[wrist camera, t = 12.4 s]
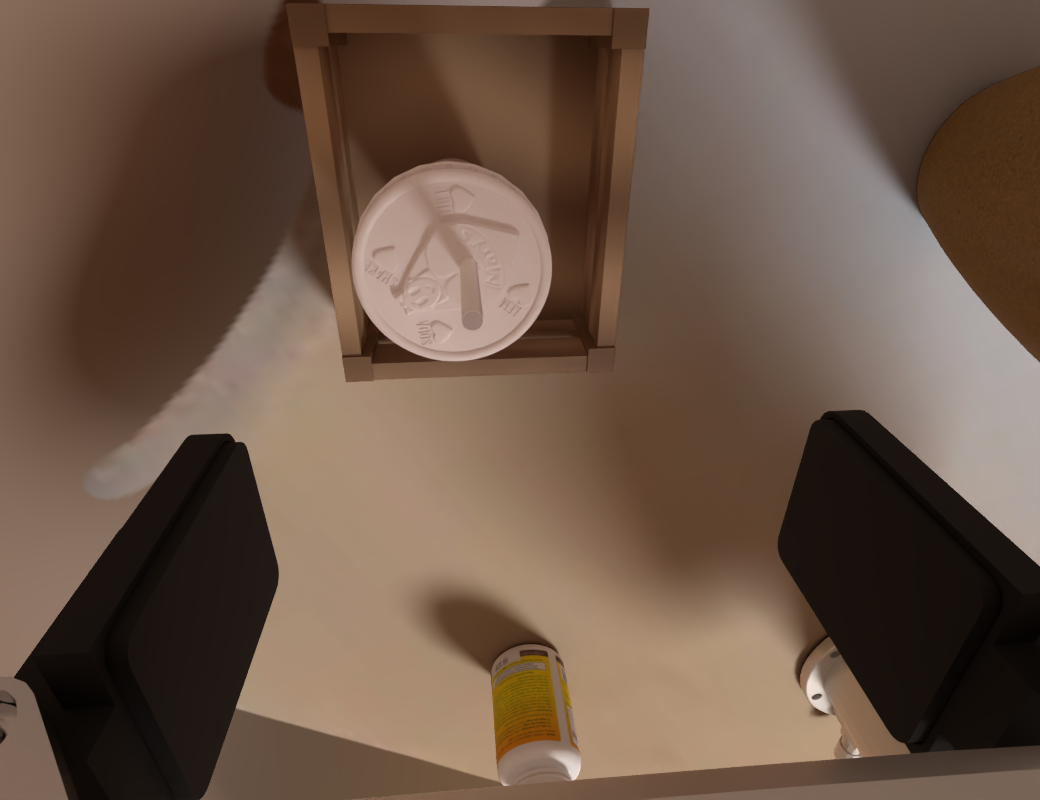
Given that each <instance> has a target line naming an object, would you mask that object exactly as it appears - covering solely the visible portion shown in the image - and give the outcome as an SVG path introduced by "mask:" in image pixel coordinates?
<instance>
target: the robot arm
mask: <svg viewBox="0 0 1040 800" xmlns="http://www.w3.org/2000/svg"><path fill="white" fill-rule="evenodd" d="M778 552H779V555H780V558H781V560H782V562H783V563H784V565H785V567H786V568H787V570H788V571H789V573H790V575H791V576H792V578H793V579H794V581H795V583H796V584H797V586H798V587H799V589H800V591H801V592H802V594H803V595H804V597H805V599H806V600H807V602H808V603H809V605H810V607H811V608H812V610H813V611H814V613H815V615H816V616H817V618H818V619H819V621H820V623H821V624H822V626H823V627H824V629H825V631H826V632H827V634H828V635H829V637H828V638H826V639H825V640H824V641H823V642H821V643H820V644H819V645H818V646H817V647H816V648H815V649H814V650H813V652H812V653H811V654H810V655H809V656H808V658H807V660H806V662H805V663H804V665H803V667H802V671H801V674H800V685H801V688H802V690H803V692H804V694H805V696H806V698H807V699H808V701H809V702H810V704H811V705H813V706H814V707H815V708H816V709H818V710H820V711H823V712H825V713H828V714H832V715H836V717H837V719H838V720H839V722H840V724H841V734H842V736H841V738H840V739H839V741H838V743H837V745H836V747H835V749H834V755H835V757H836V759H834V760H820V761H807V762H794V763H781V764H768V765H755V766H743V767H730V768H718V769H706V770H693V771H681V772H669V773H656V774H644V775H632V776H620V777H607V778H595V779H583V780H571V781H559V782H547V783H535V784H523V785H511V786H500V787H488V788H477V789H465V790H454V791H442V792H431V793H419V794H408V795H396V796H385V797H374V798H362V799H351V800H1040V566H1039V565H1037V564H1036V563H1035V562H1034V561H1033V560H1032V559H1031V558H1030V557H1029V556H1027V555H1026V554H1025V553H1024V552H1023V551H1022V550H1021V549H1020V548H1019V547H1017V546H1016V545H1015V544H1014V543H1013V542H1012V541H1011V540H1010V539H1008V538H1007V537H1006V536H1005V535H1004V534H1003V533H1002V532H1001V531H1000V530H998V529H997V528H996V527H995V526H994V525H993V524H992V523H991V522H989V521H988V520H987V519H986V518H985V517H984V516H983V515H982V514H981V513H979V512H978V511H977V510H976V509H975V508H974V507H973V506H972V505H970V504H969V503H968V502H967V501H966V500H965V499H964V498H963V497H962V496H960V495H959V494H958V493H957V492H956V491H955V490H954V489H953V488H951V487H950V486H949V485H948V484H947V483H946V482H945V481H944V480H943V479H941V478H940V477H939V476H938V475H937V474H936V473H935V472H934V471H933V470H931V469H930V468H929V467H928V466H927V465H926V464H925V463H924V462H922V461H921V460H920V459H919V458H918V457H917V456H916V455H915V454H914V453H912V452H911V451H910V450H909V449H908V448H907V447H906V446H905V445H903V444H902V443H901V442H900V441H899V440H898V439H897V438H896V437H895V436H893V435H892V434H891V433H890V432H889V431H888V430H887V429H886V428H884V427H883V426H882V425H881V424H880V423H879V422H878V421H877V420H876V419H874V418H873V417H872V416H871V415H870V414H869V413H867V412H866V411H863V410H846V411H828V412H826V413H824V414H823V416H822V417H821V419H820V420H817V421H815V422H814V423H813V424H812V426H811V428H810V432H809V435H808V438H807V442H806V445H805V449H804V452H803V455H802V459H801V462H800V466H799V469H798V472H797V476H796V479H795V483H794V486H793V490H792V493H791V496H790V500H789V503H788V507H787V510H786V513H785V517H784V520H783V524H782V527H781V530H780V534H779V537H778ZM278 578H279V570H278V564H277V560H276V556H275V552H274V548H273V545H272V541H271V537H270V533H269V529H268V526H267V522H266V518H265V514H264V511H263V507H262V503H261V499H260V495H259V492H258V488H257V484H256V480H255V476H254V473H253V469H252V465H251V461H250V458H249V454H248V450H247V447H246V445H245V444H244V443H242V442H235V440H234V438H233V437H232V436H231V435H230V434H202V435H190V436H188V437H187V438H186V439H185V440H184V442H183V443H182V445H181V446H180V447H179V449H178V450H177V452H176V453H175V454H174V456H173V457H172V459H171V460H170V461H169V463H168V464H167V466H166V467H165V468H164V470H163V471H162V473H161V474H160V475H159V477H158V478H157V480H156V481H155V482H154V484H153V485H152V487H151V488H150V490H149V491H148V492H147V494H146V495H145V496H144V498H143V499H142V501H141V502H140V503H139V505H138V506H137V508H136V509H135V510H134V512H133V513H132V515H131V516H130V517H129V519H128V520H127V522H126V523H125V524H124V526H123V527H122V528H121V530H119V532H118V533H117V534H116V535H115V537H114V538H113V540H112V541H111V543H110V544H109V545H108V547H107V548H106V549H105V551H104V552H103V554H102V555H101V557H100V558H99V559H98V561H97V562H96V563H95V565H94V566H93V568H92V569H91V570H90V572H89V573H88V575H87V576H86V578H85V579H84V580H83V582H82V583H81V584H80V586H79V587H78V589H77V590H76V591H75V593H74V594H73V595H72V597H71V598H70V600H69V601H68V603H67V604H66V605H65V607H64V608H63V610H62V611H61V612H60V614H59V615H58V617H57V618H56V619H55V621H54V622H53V624H52V625H51V626H50V628H49V629H48V630H47V632H46V633H45V635H44V636H43V637H42V639H41V640H40V642H39V643H38V644H37V646H36V647H35V649H34V650H33V651H32V653H31V654H30V656H29V657H28V658H27V660H26V661H25V663H24V664H23V665H22V667H21V668H20V670H19V671H18V672H17V674H16V675H15V677H14V678H13V677H0V800H200V799H201V798H202V797H203V796H204V794H205V792H206V790H207V788H208V785H209V783H210V780H211V777H212V774H213V771H214V769H215V766H216V763H217V760H218V757H219V754H220V751H221V748H222V745H223V742H224V740H225V737H226V734H227V731H228V728H229V725H230V722H231V719H232V717H233V714H234V711H235V708H236V705H237V702H238V699H239V696H240V693H241V690H242V688H243V685H244V682H245V679H246V676H247V673H248V670H249V667H250V664H251V662H252V659H253V656H254V653H255V650H256V647H257V644H258V641H259V638H260V636H261V633H262V630H263V627H264V624H265V621H266V618H267V615H268V612H269V609H270V607H271V604H272V601H273V598H274V595H275V592H276V589H277V585H278Z"/></svg>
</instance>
